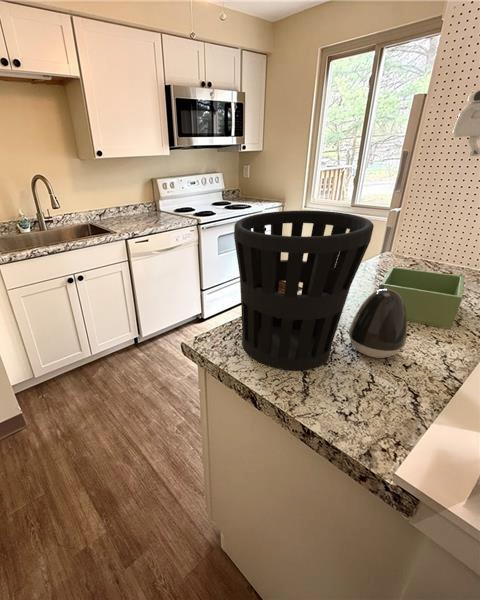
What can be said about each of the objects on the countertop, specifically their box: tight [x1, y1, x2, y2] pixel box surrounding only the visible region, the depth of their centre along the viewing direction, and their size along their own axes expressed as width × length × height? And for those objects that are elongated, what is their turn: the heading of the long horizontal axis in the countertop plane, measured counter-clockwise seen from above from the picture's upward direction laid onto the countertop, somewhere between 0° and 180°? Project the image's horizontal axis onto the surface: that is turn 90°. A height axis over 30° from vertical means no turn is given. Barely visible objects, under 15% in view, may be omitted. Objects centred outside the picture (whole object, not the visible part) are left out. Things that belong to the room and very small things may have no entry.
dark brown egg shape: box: [348, 283, 408, 359], centre depth 67 cm, size 10×10×15 cm
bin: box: [379, 266, 466, 330], centre depth 83 cm, size 16×16×9 cm
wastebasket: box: [233, 210, 375, 372], centre depth 69 cm, size 25×25×30 cm
